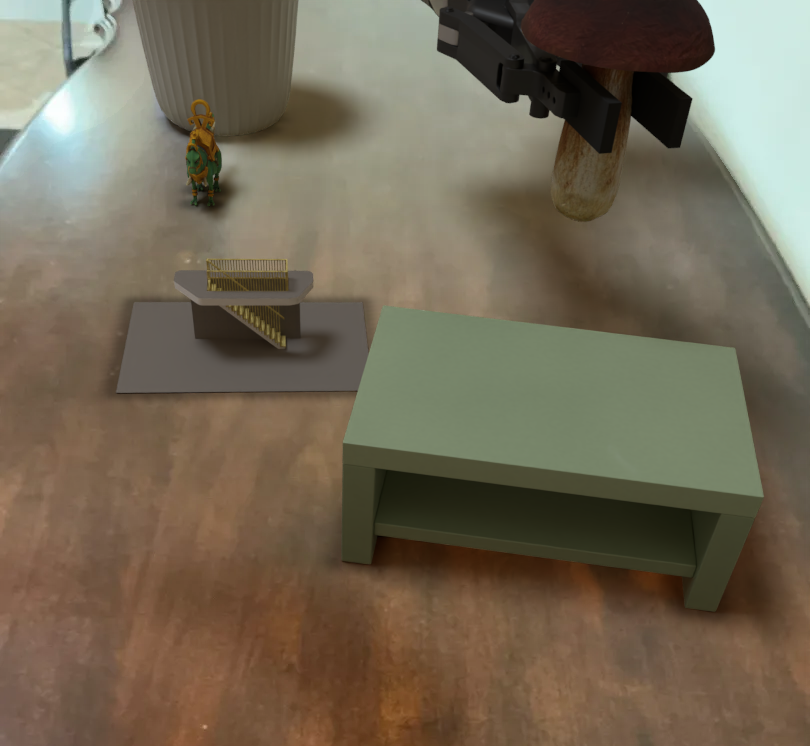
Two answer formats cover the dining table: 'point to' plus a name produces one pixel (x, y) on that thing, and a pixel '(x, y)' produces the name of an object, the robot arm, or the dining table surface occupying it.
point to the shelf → (552, 447)
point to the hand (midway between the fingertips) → (645, 125)
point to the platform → (244, 336)
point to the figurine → (203, 154)
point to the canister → (220, 59)
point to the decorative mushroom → (612, 77)
